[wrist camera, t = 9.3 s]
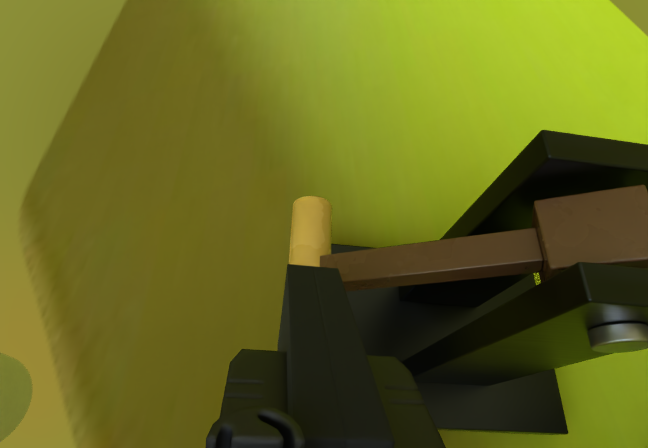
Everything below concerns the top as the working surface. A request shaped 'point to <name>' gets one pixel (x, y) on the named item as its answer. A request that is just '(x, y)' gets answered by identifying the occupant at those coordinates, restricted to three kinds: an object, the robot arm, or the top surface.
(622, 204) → the lever
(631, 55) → the top surface
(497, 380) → the bracket
